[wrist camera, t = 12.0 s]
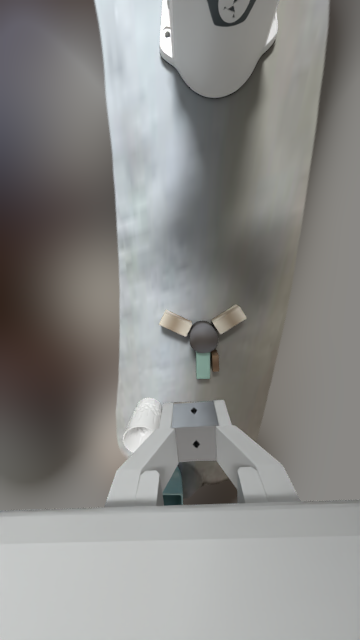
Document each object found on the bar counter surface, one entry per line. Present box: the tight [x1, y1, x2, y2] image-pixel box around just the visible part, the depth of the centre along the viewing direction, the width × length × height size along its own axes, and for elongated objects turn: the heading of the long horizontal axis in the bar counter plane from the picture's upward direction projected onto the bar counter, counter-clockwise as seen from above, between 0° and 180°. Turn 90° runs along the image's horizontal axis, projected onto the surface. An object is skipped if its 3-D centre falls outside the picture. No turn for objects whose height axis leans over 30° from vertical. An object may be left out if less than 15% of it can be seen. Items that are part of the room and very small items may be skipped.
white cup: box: [123, 398, 162, 453], centre depth 45 cm, size 8×8×10 cm
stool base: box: [159, 305, 247, 372], centre depth 42 cm, size 15×19×4 cm
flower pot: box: [162, 466, 183, 506], centre depth 51 cm, size 9×9×9 cm
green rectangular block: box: [196, 351, 210, 379], centre depth 44 cm, size 6×3×3 cm, turn 2°
